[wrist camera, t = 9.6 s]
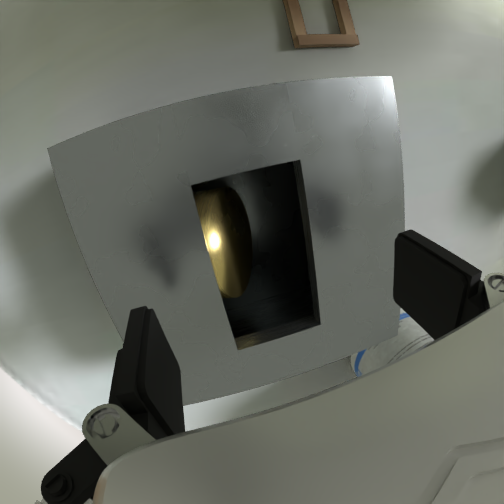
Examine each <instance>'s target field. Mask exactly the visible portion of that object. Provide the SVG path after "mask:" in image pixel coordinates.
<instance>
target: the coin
mask: <svg viewBox="0 0 504 504" xmlns="http://www.w3.org/2000/svg"><path fill="white" fill-rule="evenodd" d="M193 195H194V199H195V203H196V206H197V210H198V214H199V218H200V222H201V225H202V229H203V233H204V236H205V240H206V243H207V247H208V251H209V254H210V258H211V261H212V265H213V268H214V272H215V275H216V279H217V282H218V286H219V289H220V293H221V296H222V298H237V297H240V296H241V295H242V294H243V293H244V291H245V290H246V288H247V286H248V283H249V279H250V275H251V269H252V257H253V249H252V235H251V228H250V223H249V219H248V215H247V212H246V209H245V206H244V204H243V202H242V200H241V198H240V196H239V195H238V193H237V192H236V191H235V190H234V189H232V188H230V187H222V188H216V189H210V190H204V191H198V192H193Z"/></svg>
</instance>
